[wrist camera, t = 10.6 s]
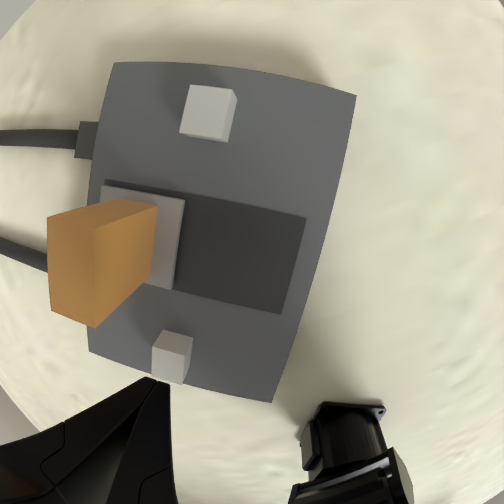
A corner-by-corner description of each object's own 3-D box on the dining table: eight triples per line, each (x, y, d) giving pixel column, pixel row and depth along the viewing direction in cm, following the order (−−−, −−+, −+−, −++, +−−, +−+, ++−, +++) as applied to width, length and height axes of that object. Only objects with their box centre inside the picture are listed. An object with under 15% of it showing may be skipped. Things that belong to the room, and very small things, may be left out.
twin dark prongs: (129, 134, 17) (119, 132, 16) (113, 289, 20) (104, 296, 19) (1, 130, 17) (-9, 130, 16) (-5, 246, 21) (-14, 250, 19)
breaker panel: (343, 106, 16) (367, 85, 11) (271, 376, 22) (270, 422, 17) (111, 75, 16) (71, 56, 11) (87, 325, 22) (55, 355, 17)
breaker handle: (185, 199, 15) (128, 221, 9) (172, 287, 16) (124, 349, 10) (105, 185, 15) (26, 199, 9) (99, 266, 16) (32, 311, 10)
